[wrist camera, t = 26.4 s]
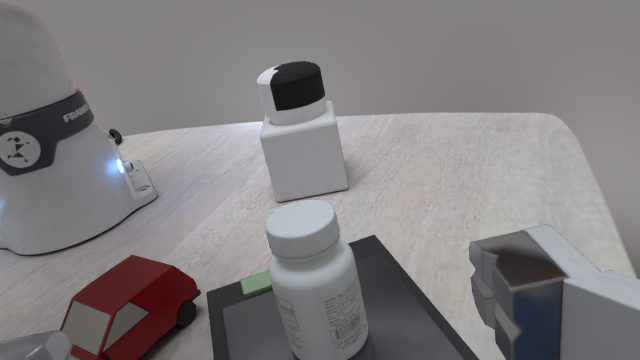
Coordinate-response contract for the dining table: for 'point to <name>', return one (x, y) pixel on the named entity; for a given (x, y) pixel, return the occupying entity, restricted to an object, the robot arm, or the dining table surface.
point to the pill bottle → (315, 282)
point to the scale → (380, 306)
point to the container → (300, 133)
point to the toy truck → (129, 310)
